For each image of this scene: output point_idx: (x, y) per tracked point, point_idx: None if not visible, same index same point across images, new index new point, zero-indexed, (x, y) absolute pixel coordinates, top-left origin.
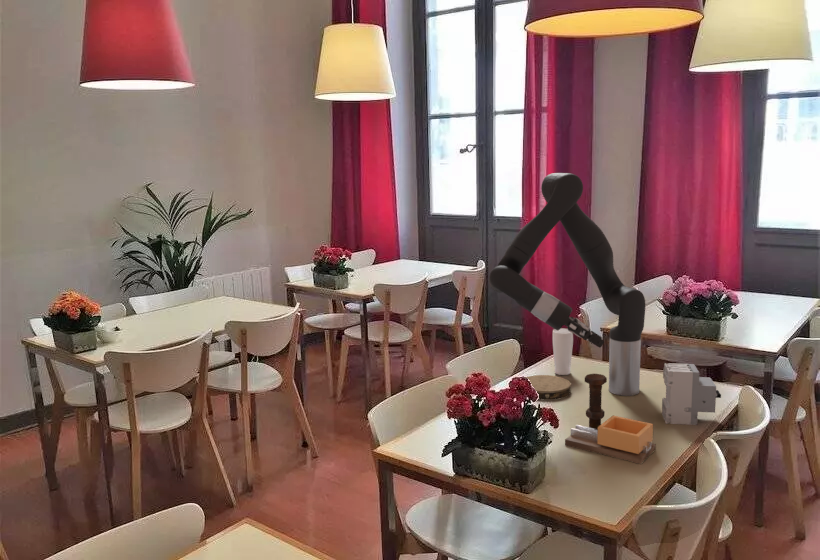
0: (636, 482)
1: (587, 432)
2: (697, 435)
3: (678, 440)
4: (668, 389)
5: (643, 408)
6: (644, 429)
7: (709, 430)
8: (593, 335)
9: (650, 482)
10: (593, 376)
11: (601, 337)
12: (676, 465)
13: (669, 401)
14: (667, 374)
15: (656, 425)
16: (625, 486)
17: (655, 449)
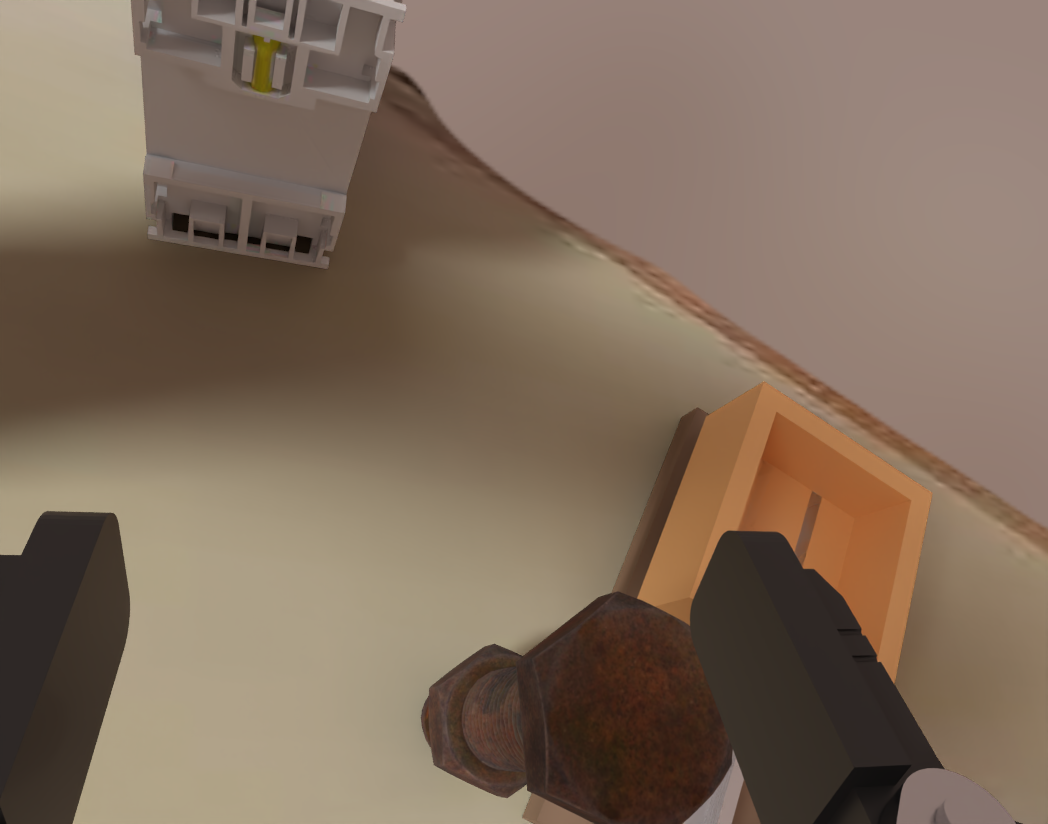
0: (980, 565)
1: (740, 781)
2: (483, 179)
3: (556, 282)
4: (271, 108)
5: (33, 324)
6: (845, 445)
7: (412, 103)
8: (883, 750)
9: (963, 510)
10: (643, 738)
11: (104, 518)
12: (805, 373)
13: (327, 167)
14: (342, 32)
15: (363, 328)
16: (1021, 614)
17: (683, 417)
